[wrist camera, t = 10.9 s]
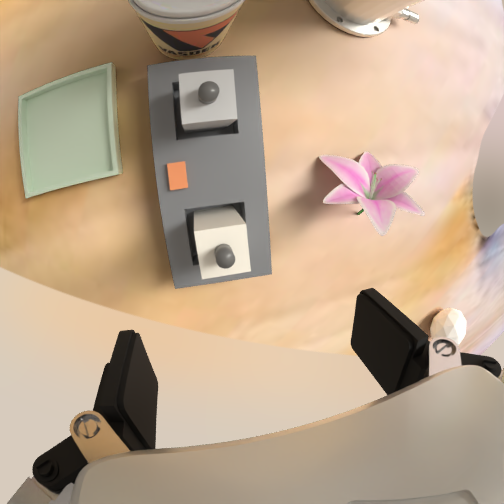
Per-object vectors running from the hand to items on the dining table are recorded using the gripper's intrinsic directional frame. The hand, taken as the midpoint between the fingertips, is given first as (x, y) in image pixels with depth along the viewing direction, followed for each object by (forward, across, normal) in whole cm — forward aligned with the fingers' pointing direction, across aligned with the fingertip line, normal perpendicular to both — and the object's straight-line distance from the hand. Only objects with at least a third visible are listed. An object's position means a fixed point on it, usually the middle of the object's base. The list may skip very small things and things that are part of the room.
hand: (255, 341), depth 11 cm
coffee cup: (+20, +1, -22) cm, 30 cm away
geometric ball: (+20, -39, +24) cm, 50 cm away
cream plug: (+20, 0, 0) cm, 20 cm away
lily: (+21, -16, -3) cm, 27 cm away
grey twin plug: (+20, 0, -12) cm, 23 cm away
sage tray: (+20, +15, -13) cm, 28 cm away
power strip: (+20, 0, -6) cm, 21 cm away
